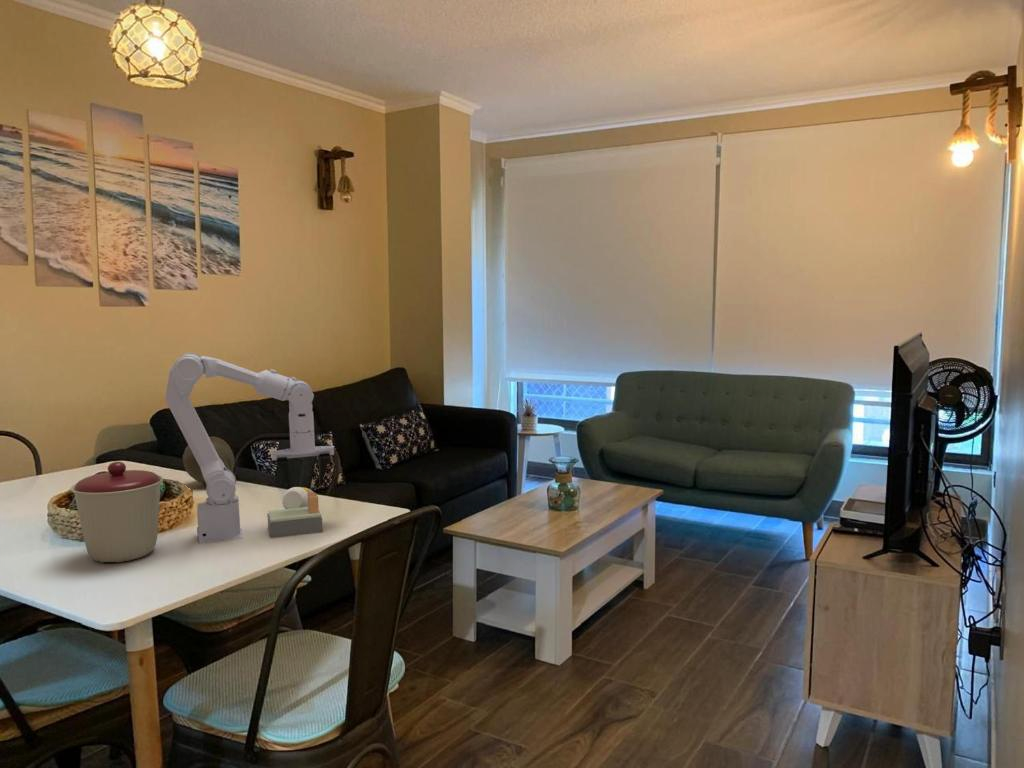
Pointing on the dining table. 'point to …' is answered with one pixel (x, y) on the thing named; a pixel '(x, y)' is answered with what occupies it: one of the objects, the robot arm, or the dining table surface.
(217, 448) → the cantaloupe
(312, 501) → the lid
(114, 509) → the canister
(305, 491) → the supplement bottle
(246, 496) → the dining table surface
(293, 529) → the tub
